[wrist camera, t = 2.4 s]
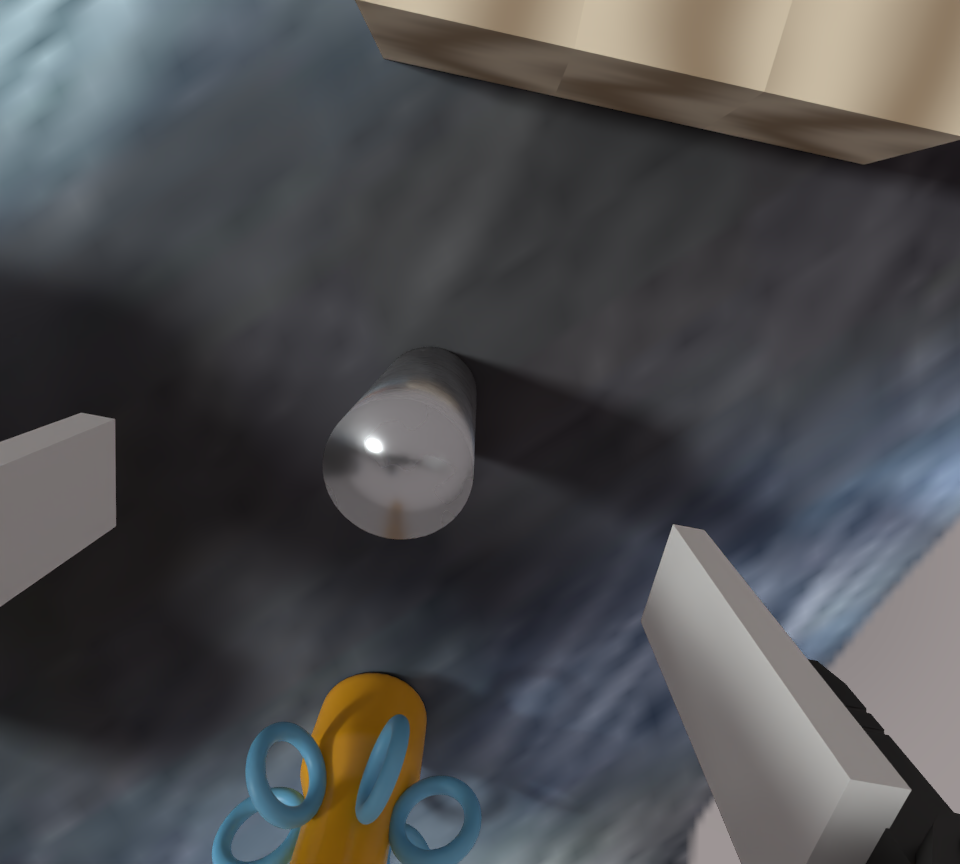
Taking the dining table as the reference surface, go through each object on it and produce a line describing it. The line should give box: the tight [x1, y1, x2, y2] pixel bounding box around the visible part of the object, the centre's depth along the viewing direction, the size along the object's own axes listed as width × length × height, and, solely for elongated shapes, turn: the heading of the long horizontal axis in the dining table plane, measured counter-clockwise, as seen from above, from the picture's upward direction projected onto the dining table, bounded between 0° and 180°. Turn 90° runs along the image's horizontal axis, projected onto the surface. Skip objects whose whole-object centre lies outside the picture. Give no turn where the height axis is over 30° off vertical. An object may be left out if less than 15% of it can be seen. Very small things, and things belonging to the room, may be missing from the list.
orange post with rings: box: [212, 673, 481, 864], centre depth 24 cm, size 12×10×15 cm
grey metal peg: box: [323, 347, 477, 539], centre depth 21 cm, size 4×4×10 cm
